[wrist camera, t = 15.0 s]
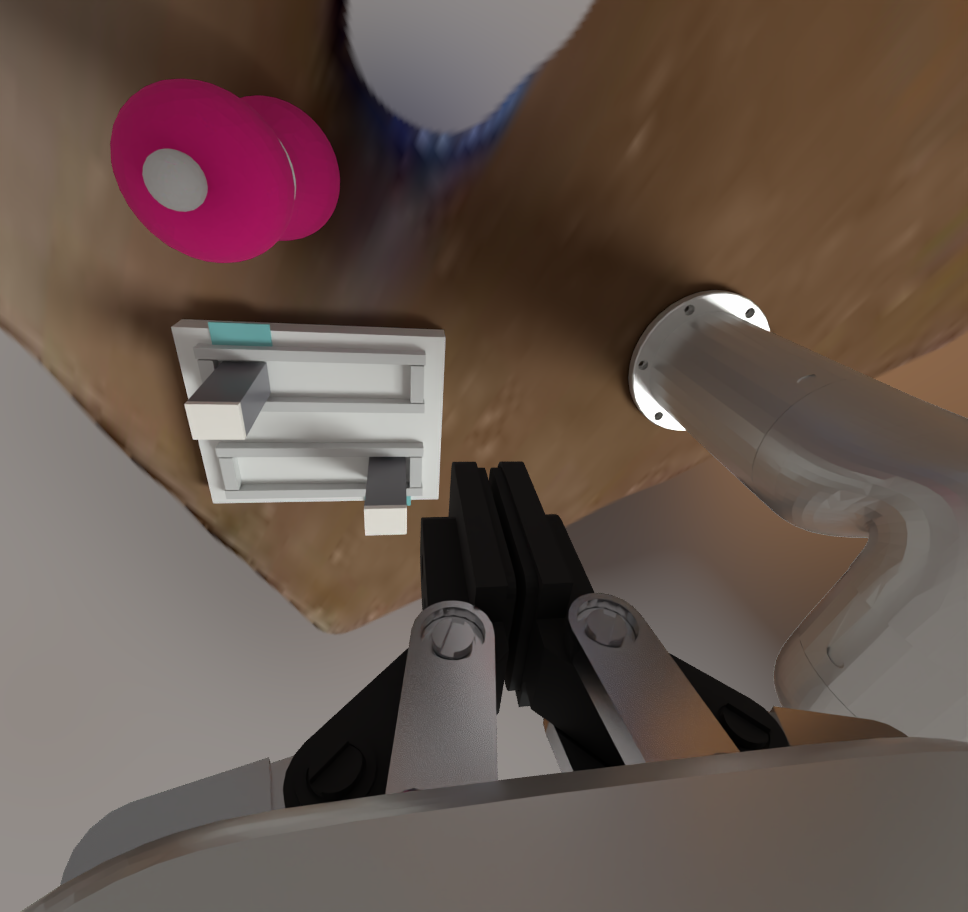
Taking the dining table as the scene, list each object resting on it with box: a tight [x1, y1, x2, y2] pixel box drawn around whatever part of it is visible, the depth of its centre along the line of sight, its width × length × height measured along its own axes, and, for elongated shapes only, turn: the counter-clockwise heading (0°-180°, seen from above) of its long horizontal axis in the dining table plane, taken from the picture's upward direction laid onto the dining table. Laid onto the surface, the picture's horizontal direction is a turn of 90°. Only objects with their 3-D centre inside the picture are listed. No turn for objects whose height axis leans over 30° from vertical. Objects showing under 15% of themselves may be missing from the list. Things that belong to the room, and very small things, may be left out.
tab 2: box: [364, 457, 407, 535], centre depth 39 cm, size 3×2×7 cm
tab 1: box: [184, 361, 271, 440], centre depth 33 cm, size 3×2×7 cm
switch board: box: [171, 319, 446, 505], centre depth 40 cm, size 19×16×3 cm
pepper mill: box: [110, 79, 340, 263], centre depth 23 cm, size 7×7×20 cm
